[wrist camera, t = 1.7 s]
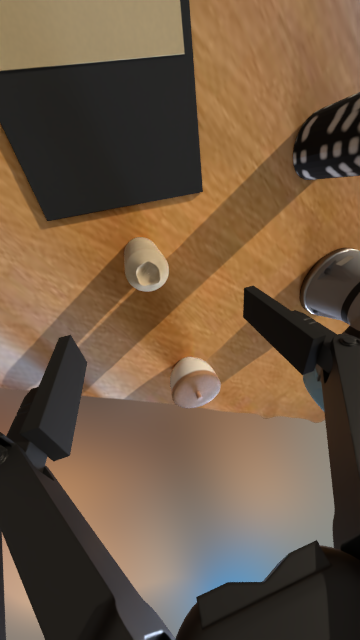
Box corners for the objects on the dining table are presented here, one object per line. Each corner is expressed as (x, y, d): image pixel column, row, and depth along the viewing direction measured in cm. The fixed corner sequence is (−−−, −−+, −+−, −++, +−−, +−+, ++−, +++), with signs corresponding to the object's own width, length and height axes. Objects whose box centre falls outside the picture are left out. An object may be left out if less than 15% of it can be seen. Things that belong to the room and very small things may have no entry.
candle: (165, 252, 33) (180, 271, 24) (144, 277, 34) (152, 303, 26) (137, 228, 30) (144, 240, 22) (116, 257, 31) (115, 279, 23)
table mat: (176, -157, 16) (177, -166, 16) (201, 191, 29) (203, 191, 29) (-139, -173, 13) (-147, -184, 13) (48, 220, 27) (47, 221, 26)
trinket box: (156, 366, 45) (164, 400, 38) (195, 341, 45) (211, 371, 37) (179, 387, 52) (190, 421, 44) (214, 366, 51) (231, 396, 43)
